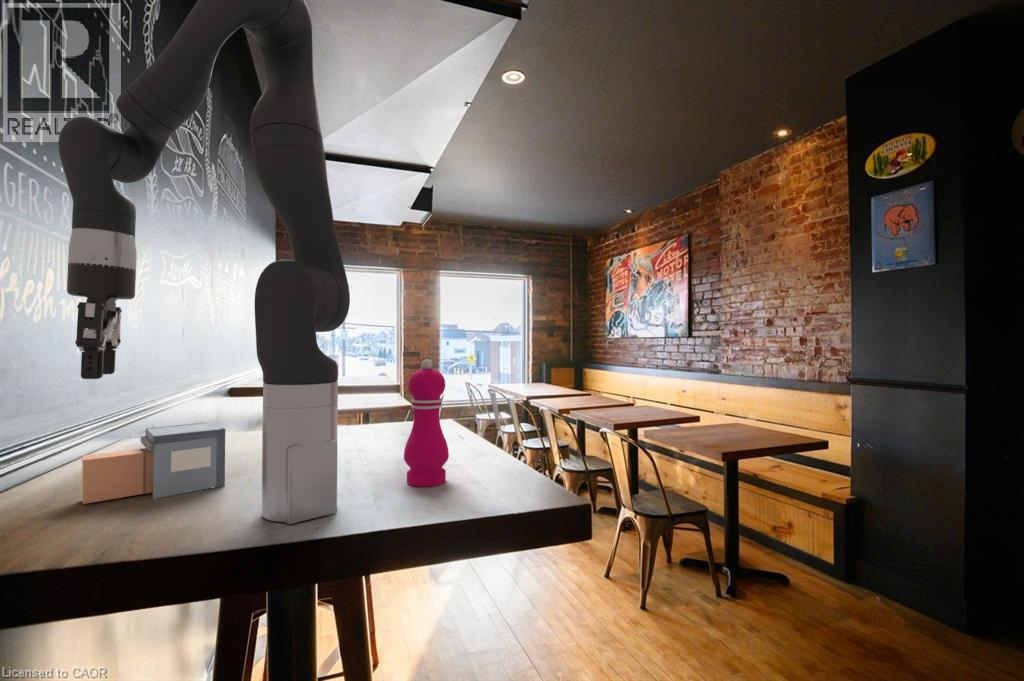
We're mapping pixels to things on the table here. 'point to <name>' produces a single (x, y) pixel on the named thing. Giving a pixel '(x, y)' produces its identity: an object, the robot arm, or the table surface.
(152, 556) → the table surface
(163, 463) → the block
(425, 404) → the pepper mill
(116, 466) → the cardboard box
